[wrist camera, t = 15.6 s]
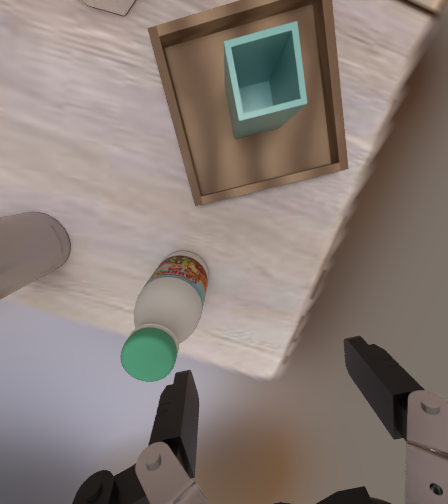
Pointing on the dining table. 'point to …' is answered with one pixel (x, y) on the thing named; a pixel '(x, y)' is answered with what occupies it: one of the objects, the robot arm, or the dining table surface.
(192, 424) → the robot arm
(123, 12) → the jar
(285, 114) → the teal square vase
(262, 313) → the dining table surface
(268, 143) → the wooden tray
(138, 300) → the yogurt drink bottle
